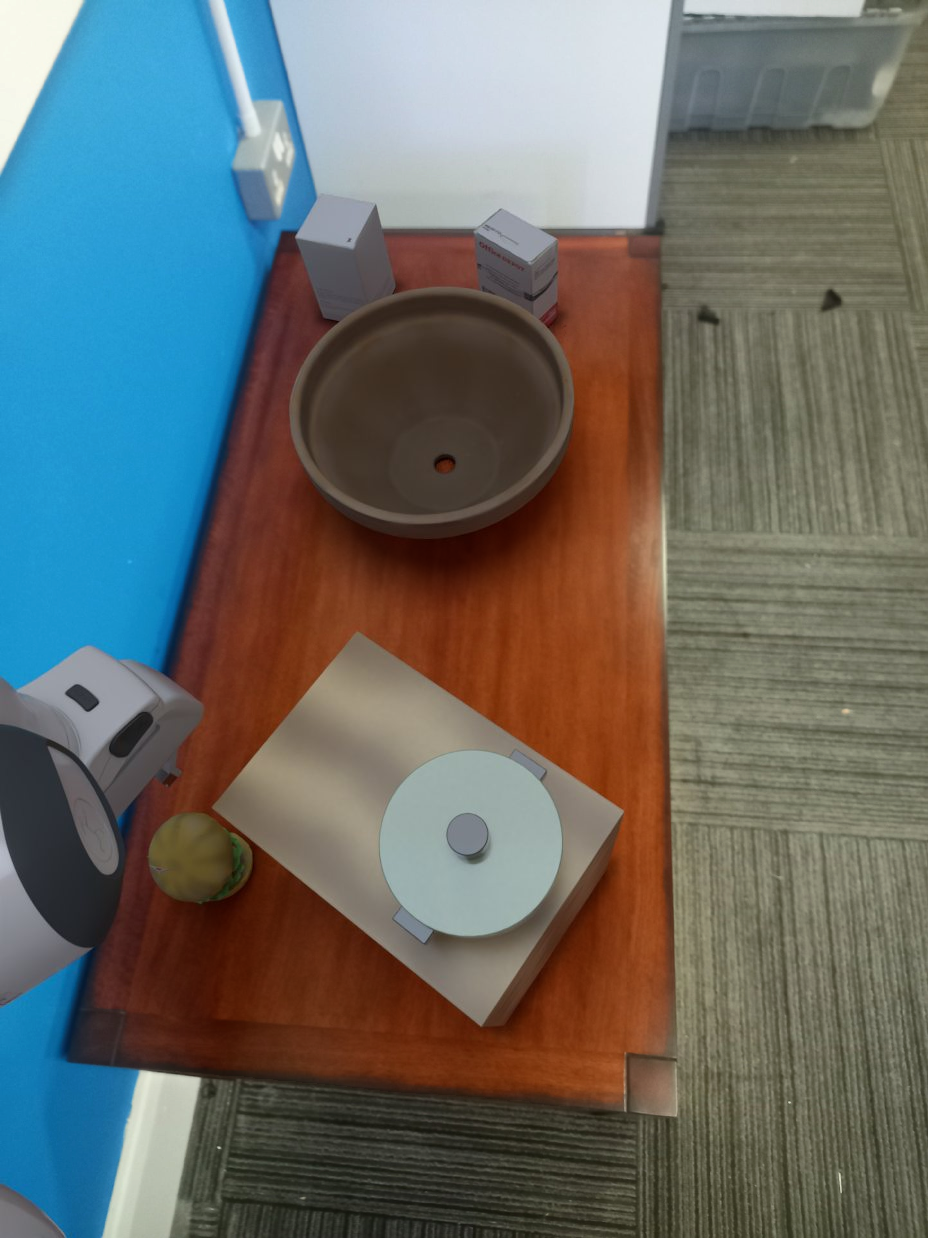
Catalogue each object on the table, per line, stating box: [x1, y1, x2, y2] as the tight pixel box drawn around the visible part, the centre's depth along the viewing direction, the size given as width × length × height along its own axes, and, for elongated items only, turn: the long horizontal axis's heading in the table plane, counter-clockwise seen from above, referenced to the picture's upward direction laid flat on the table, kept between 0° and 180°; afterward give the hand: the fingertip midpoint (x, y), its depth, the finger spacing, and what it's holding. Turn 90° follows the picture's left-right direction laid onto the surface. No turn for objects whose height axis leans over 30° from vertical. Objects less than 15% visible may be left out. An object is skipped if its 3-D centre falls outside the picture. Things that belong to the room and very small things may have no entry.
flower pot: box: [288, 286, 575, 540], centre depth 93 cm, size 28×28×13 cm
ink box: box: [473, 207, 559, 328], centre depth 102 cm, size 8×5×12 cm, turn 48°
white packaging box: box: [294, 193, 397, 322], centre depth 105 cm, size 7×7×13 cm
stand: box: [211, 630, 626, 1028], centre depth 70 cm, size 16×23×24 cm
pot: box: [379, 749, 563, 946], centre depth 54 cm, size 12×11×8 cm
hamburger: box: [146, 811, 254, 905], centre depth 78 cm, size 8×7×12 cm
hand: (125, 826), depth 65 cm, fingers open, 8 cm apart
